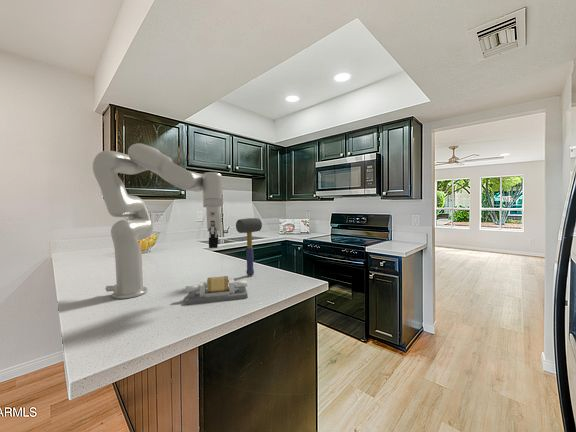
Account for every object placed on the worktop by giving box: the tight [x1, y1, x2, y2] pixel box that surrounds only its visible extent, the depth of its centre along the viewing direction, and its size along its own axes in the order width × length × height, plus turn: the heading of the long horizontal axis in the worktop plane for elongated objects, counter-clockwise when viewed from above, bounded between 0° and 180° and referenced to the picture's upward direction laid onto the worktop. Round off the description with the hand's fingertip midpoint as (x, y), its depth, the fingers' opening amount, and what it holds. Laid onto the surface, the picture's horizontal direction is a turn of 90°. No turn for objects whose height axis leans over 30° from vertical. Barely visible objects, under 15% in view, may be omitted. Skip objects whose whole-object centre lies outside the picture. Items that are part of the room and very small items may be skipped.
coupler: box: [206, 275, 229, 293], centre depth 103 cm, size 8×4×6 cm, turn 104°
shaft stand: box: [184, 278, 249, 305], centre depth 103 cm, size 24×10×6 cm, turn 104°
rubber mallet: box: [235, 217, 263, 277], centre depth 132 cm, size 12×8×30 cm, turn 131°
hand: (213, 245), depth 103 cm, fingers open, 9 cm apart
